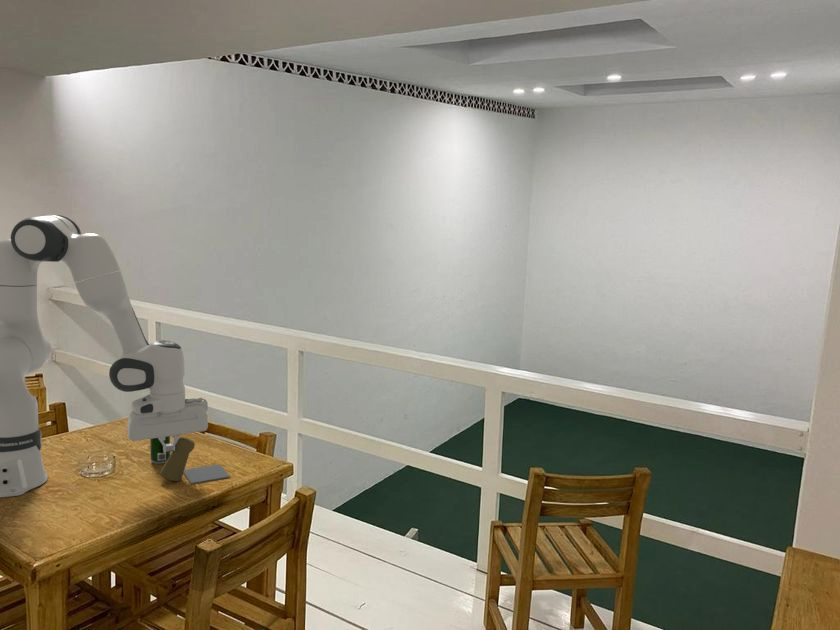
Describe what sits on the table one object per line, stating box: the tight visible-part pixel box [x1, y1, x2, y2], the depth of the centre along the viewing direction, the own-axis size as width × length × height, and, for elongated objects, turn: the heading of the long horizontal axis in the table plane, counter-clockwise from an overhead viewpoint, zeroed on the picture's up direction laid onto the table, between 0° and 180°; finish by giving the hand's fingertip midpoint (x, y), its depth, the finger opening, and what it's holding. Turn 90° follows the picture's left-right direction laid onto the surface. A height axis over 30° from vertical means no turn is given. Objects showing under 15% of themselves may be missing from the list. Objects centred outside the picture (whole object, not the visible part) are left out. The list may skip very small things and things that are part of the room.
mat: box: [183, 463, 231, 485], centre depth 186 cm, size 10×10×1 cm
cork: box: [159, 436, 196, 482], centre depth 182 cm, size 6×6×11 cm
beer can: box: [149, 436, 171, 465], centre depth 194 cm, size 5×5×12 cm
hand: (169, 451), depth 180 cm, fingers closed
